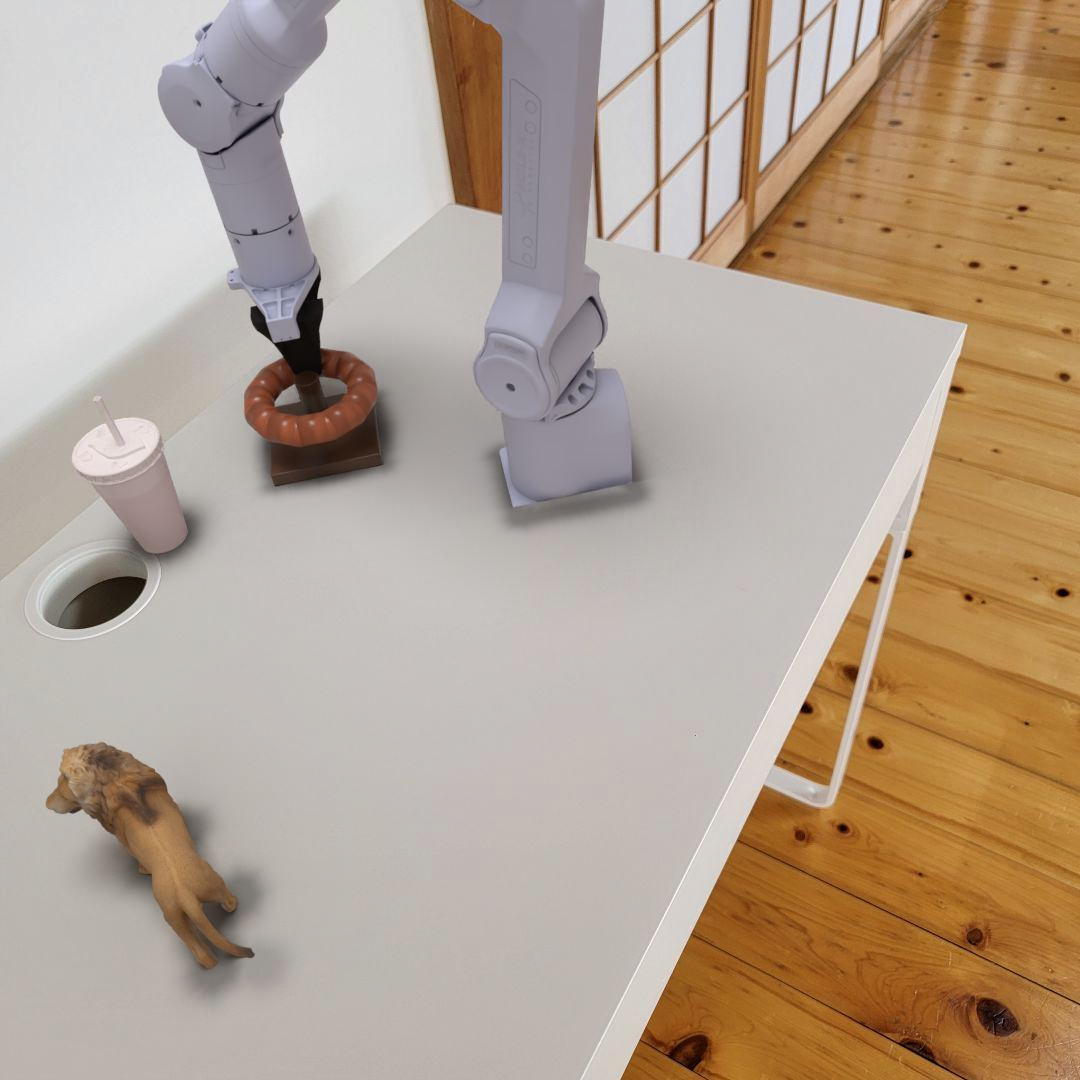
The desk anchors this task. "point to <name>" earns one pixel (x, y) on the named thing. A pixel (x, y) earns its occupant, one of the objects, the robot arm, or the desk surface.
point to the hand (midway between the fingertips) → (309, 362)
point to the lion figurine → (147, 838)
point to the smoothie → (133, 478)
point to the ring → (314, 425)
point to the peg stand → (330, 456)
